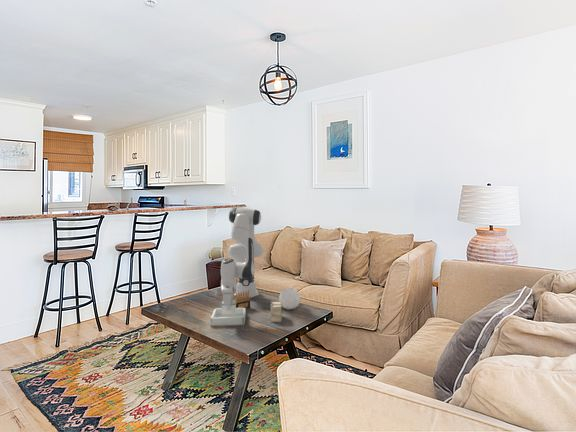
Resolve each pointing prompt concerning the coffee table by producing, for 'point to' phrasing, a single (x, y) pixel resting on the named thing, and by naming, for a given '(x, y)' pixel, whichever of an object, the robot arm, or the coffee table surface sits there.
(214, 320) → the tray
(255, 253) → the robot arm
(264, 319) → the coffee table surface
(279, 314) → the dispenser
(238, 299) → the ammunition clip
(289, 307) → the geodesic sphere
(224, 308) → the teal-striped white carton
